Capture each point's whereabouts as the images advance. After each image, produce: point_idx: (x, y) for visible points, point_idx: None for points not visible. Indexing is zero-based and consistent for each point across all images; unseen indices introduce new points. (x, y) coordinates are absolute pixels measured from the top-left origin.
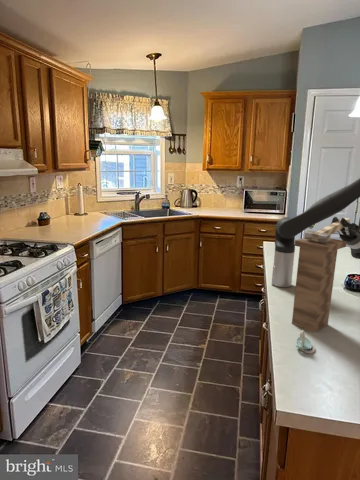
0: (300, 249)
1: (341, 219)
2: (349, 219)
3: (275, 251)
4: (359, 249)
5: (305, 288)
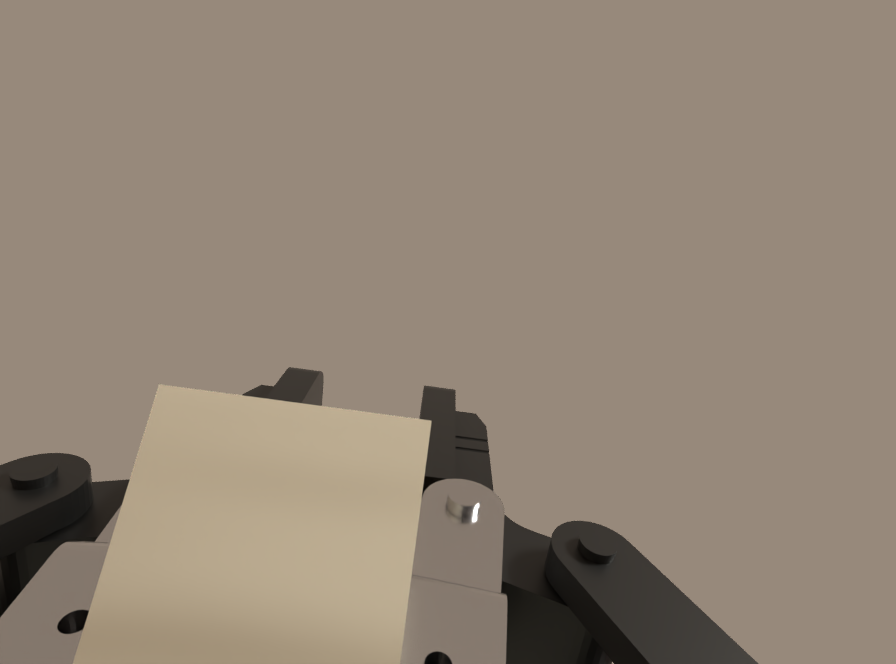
0: None
1: (317, 399)
2: (176, 423)
3: None
4: None
5: None
